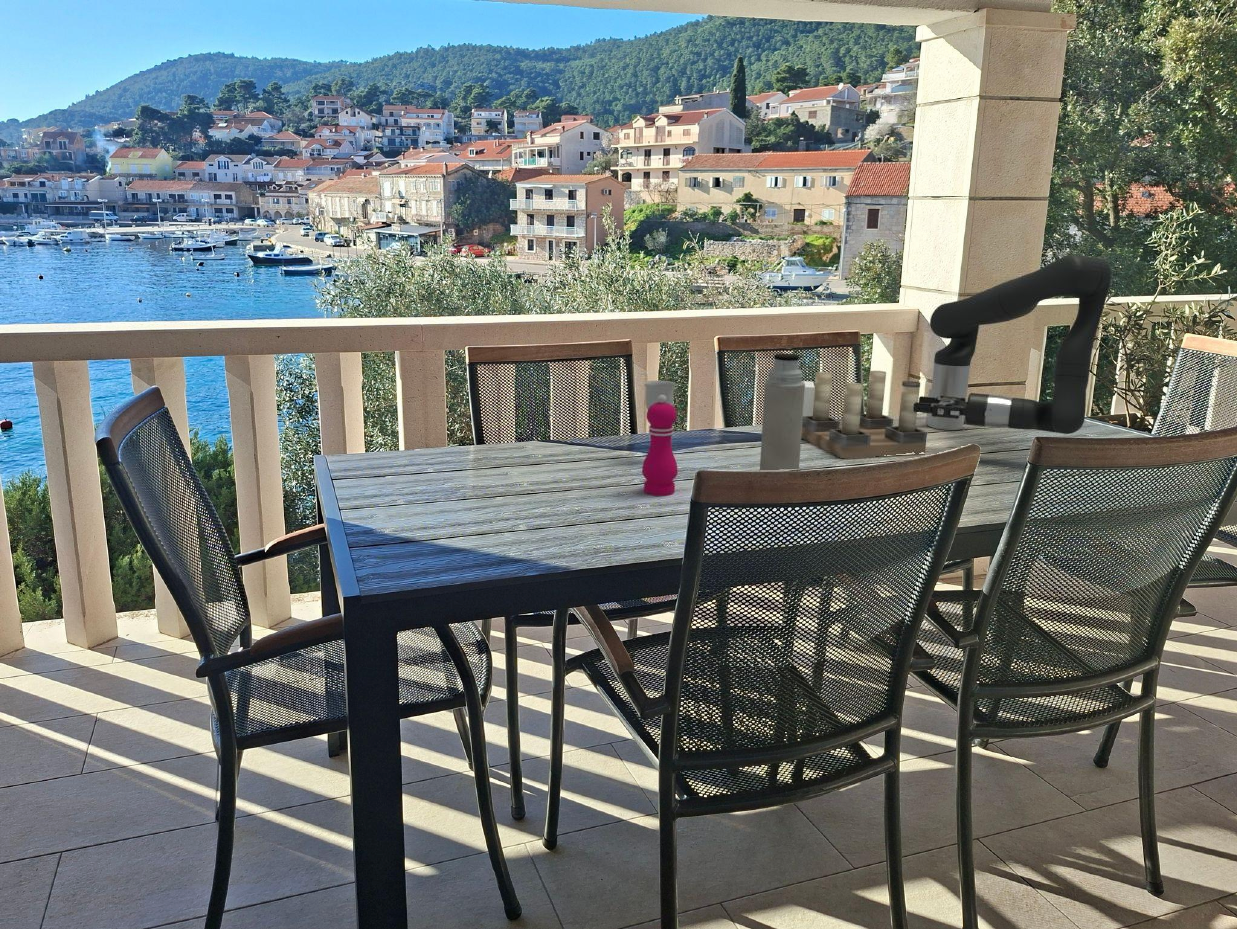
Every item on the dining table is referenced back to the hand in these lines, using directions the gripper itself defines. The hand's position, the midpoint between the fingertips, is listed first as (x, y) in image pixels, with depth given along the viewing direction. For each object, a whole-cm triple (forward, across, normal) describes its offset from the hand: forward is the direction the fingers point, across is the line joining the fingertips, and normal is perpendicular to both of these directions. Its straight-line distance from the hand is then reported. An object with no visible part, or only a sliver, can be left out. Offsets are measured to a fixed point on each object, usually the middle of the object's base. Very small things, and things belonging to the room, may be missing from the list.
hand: (916, 403), depth 226 cm
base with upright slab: (+29, -13, +12) cm, 34 cm away
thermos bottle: (+20, +45, +12) cm, 51 cm away
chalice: (+51, +37, +12) cm, 64 cm away
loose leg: (+2, 0, +9) cm, 9 cm away
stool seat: (+12, -1, +12) cm, 17 cm away
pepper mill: (+42, +59, +12) cm, 73 cm away
